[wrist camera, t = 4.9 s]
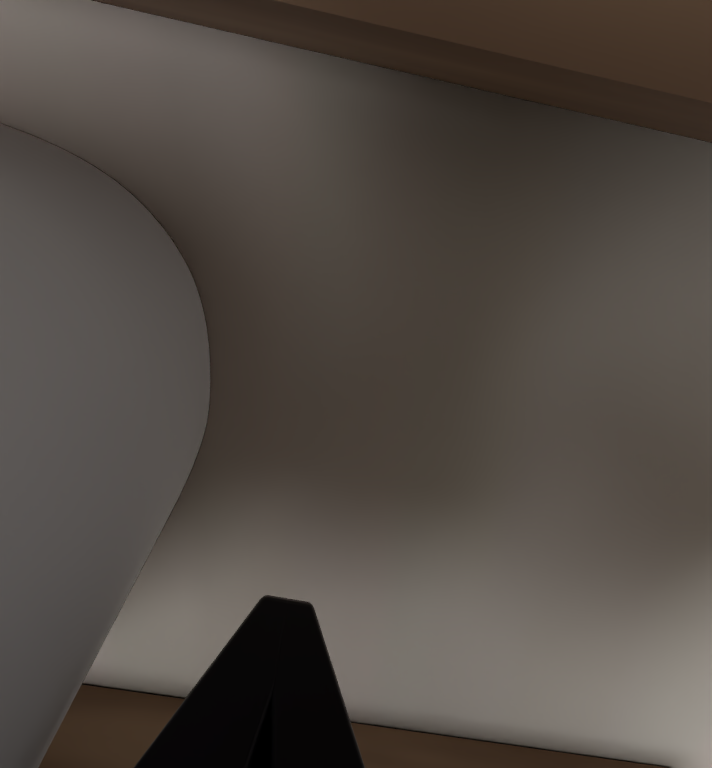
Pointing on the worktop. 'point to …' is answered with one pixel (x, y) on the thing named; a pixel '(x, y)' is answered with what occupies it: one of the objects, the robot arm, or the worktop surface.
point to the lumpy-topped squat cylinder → (83, 420)
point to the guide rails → (485, 72)
